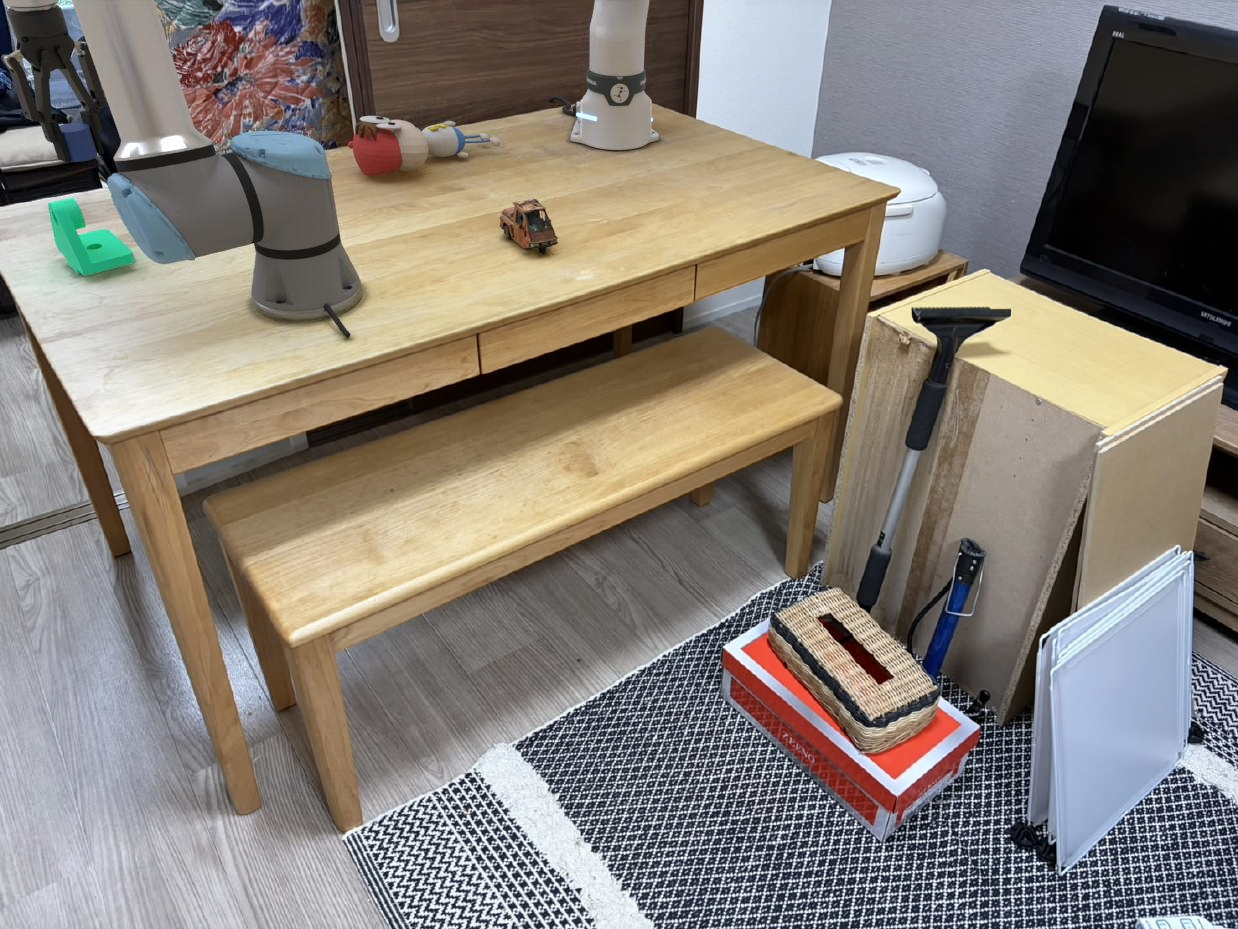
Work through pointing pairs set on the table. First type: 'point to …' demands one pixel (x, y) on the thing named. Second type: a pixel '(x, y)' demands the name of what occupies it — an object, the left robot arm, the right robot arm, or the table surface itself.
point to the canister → (78, 141)
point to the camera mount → (85, 241)
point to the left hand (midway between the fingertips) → (81, 155)
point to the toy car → (528, 225)
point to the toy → (405, 144)
